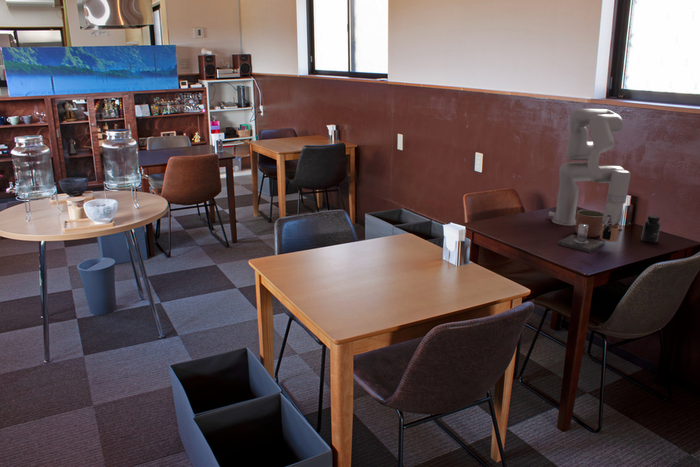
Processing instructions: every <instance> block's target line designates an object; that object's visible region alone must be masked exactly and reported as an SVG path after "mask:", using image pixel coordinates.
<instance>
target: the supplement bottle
mask: <svg viewBox="0 0 700 467" xmlns="http://www.w3.org/2000/svg"><path fill="white" fill-rule="evenodd" d="M660 229H661V223H660V216H658V215H652V214H651V215H650V214H649V215H648V216H647V220H646V221H644V223H643V228H642V233H641V237H640V238H641V239H640V240H641V241H642V242H644V243H650V244H656V243H657V242H658V240H659V235H660Z"/></svg>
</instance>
